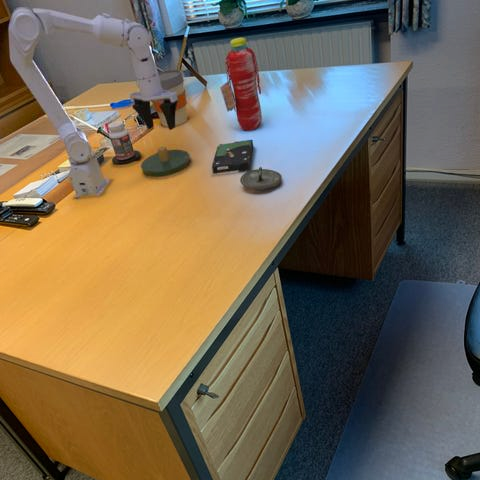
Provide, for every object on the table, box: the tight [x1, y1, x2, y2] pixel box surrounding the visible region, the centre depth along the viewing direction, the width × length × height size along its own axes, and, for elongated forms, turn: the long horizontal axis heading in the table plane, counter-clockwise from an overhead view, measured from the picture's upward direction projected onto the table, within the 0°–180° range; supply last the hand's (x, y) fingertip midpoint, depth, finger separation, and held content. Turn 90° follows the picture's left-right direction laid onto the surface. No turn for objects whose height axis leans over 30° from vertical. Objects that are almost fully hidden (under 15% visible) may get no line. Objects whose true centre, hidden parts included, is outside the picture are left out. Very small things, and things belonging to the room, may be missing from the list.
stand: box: [111, 149, 142, 166], centre depth 149 cm, size 9×9×1 cm
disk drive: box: [211, 139, 255, 174], centre depth 135 cm, size 10×3×15 cm
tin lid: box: [140, 146, 191, 173], centre depth 138 cm, size 14×14×5 cm
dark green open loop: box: [143, 159, 190, 178], centre depth 139 cm, size 13×13×2 cm
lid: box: [239, 166, 283, 190], centre depth 121 cm, size 11×10×5 cm
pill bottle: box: [107, 120, 135, 160], centre depth 145 cm, size 6×6×10 cm
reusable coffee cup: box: [151, 69, 188, 128], centre depth 164 cm, size 13×13×15 cm
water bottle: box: [220, 37, 263, 131], centre depth 145 cm, size 12×8×25 cm, turn 90°
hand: (161, 128), depth 135 cm, fingers open, 7 cm apart
